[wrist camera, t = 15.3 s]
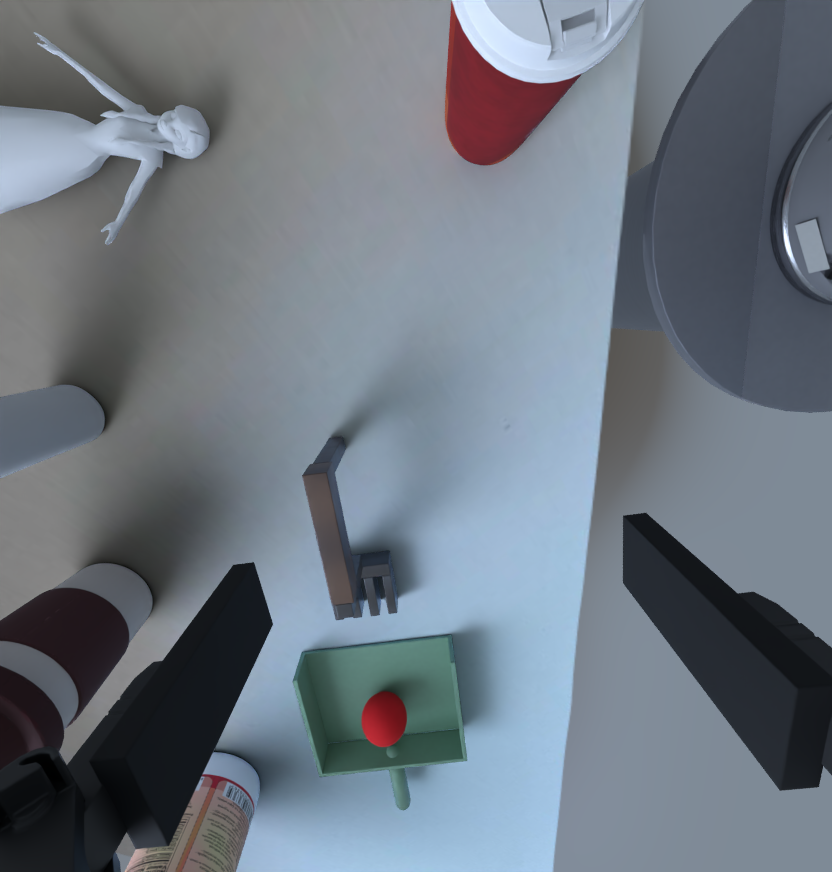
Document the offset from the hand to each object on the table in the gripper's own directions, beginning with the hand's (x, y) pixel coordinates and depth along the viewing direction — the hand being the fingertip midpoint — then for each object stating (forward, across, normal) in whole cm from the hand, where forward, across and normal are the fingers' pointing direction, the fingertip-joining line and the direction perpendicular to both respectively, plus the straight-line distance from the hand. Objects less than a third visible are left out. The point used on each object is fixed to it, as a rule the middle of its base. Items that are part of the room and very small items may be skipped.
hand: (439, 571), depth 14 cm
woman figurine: (+19, -20, +22) cm, 36 cm away
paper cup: (+20, +7, +21) cm, 29 cm away
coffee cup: (+19, -31, -12) cm, 38 cm away
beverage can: (+19, -28, +5) cm, 34 cm away
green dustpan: (+19, -8, -31) cm, 38 cm away
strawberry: (+17, -8, -28) cm, 34 cm away
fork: (+19, -8, -8) cm, 22 cm away
